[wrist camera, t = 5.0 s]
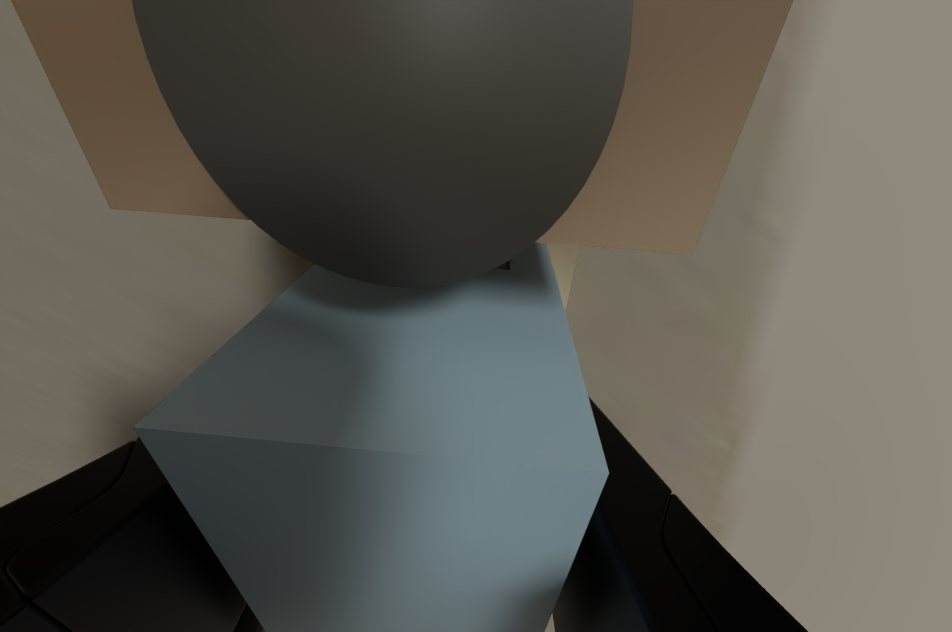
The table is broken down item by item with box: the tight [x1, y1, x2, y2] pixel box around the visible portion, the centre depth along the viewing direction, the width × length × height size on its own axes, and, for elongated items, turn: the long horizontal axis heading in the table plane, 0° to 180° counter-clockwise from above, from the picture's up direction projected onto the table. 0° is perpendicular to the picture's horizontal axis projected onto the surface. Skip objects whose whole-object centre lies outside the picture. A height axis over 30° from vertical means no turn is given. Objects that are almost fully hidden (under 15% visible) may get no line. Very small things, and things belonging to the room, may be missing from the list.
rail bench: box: [11, 0, 793, 310], centre depth 10 cm, size 23×6×6 cm, turn 177°
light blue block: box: [133, 242, 609, 632], centre depth 7 cm, size 5×4×6 cm
